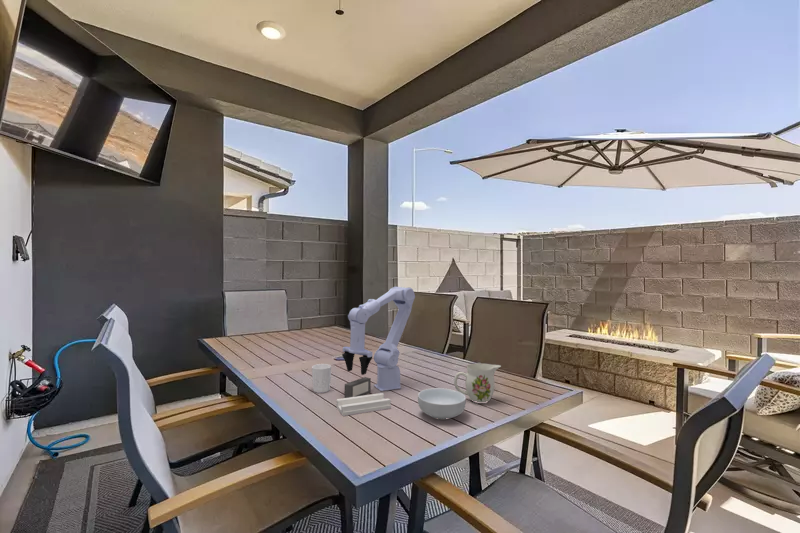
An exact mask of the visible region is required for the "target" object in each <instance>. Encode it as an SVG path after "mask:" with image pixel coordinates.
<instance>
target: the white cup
mask: <svg viewBox="0 0 800 533" xmlns="http://www.w3.org/2000/svg"><path fill="white" fill-rule="evenodd" d="M331 373H332V365H331V364H328V363H317V364H314V365H312V366H311V378H312V391H313V392H314V393H316V394H317V393H318V394H323V393H327V392H329V391H330V389H331V388H330V386H331V385H330V384H331V378H332V377H331V376H332V374H331Z"/></svg>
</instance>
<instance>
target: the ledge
mask: <svg viewBox="0 0 800 533" xmlns="http://www.w3.org/2000/svg"><path fill="white" fill-rule="evenodd" d="M391 402H392V400H391V399H390V398H385V393H383V392H379V393H373V394H366V395H363V396H356V397H349V398H344V397H343V398H336V404H335V405H336V406H335V407H336V409H337V410H338V412H339V413H340V415H341V416H343V417H345V416H352V415H358V414H364V413H371V412H377V411H378V412H379V411H384V410H390V408H391V409H392V406H391Z"/></svg>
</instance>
